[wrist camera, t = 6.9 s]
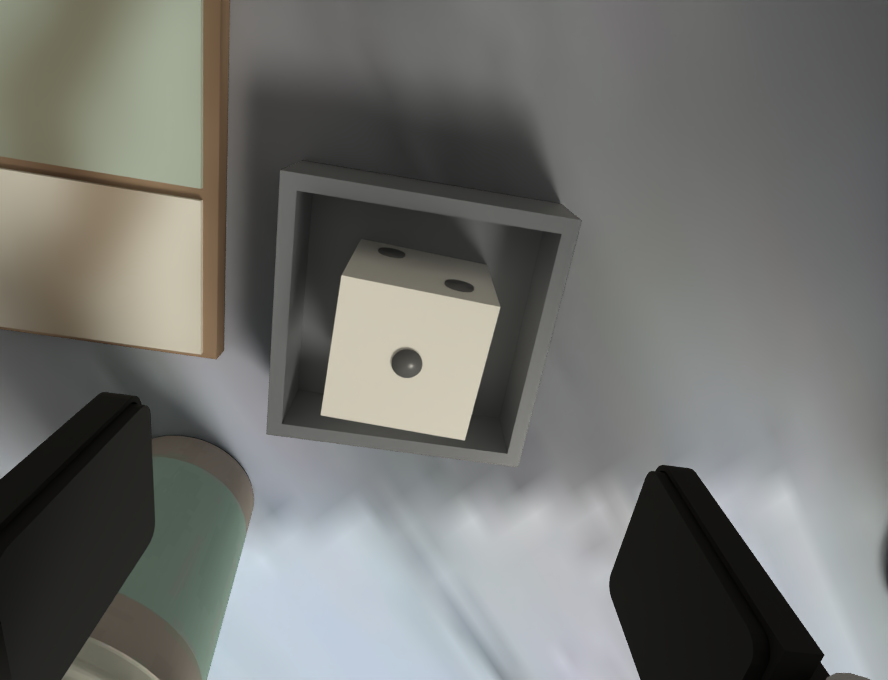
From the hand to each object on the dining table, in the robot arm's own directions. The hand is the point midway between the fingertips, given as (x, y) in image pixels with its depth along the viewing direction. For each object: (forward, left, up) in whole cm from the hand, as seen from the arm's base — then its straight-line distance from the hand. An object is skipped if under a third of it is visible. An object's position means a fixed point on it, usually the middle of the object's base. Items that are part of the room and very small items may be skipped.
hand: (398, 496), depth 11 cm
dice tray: (0, 0, -11) cm, 11 cm away
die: (0, 0, -11) cm, 11 cm away
